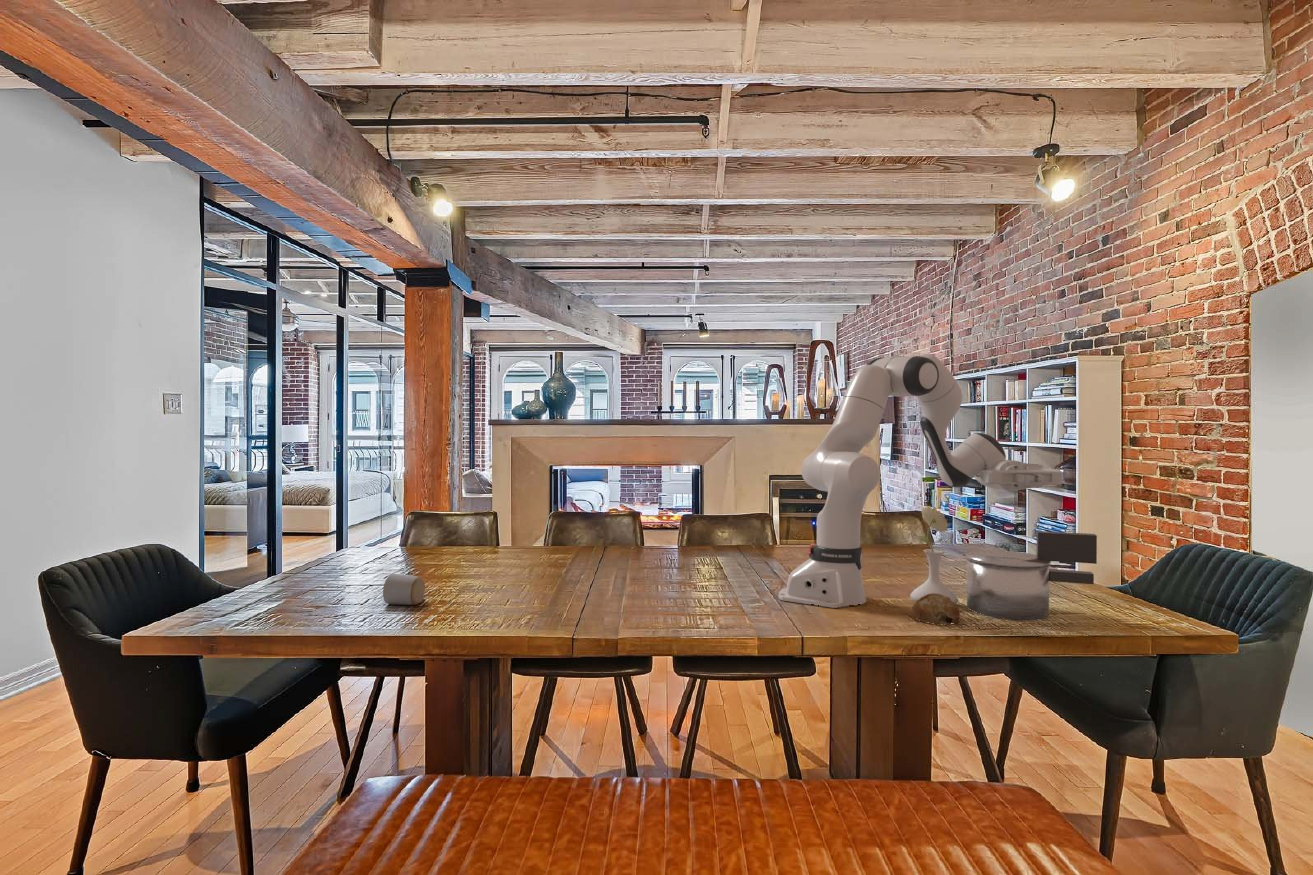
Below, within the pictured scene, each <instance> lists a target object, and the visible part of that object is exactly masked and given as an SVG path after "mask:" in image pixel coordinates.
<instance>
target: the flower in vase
mask: <svg viewBox="0 0 1313 875" xmlns="http://www.w3.org/2000/svg"><path fill="white" fill-rule="evenodd" d="M921 514H922V515H921V517H922V519H923V520H924V522H925V523H927V525H928V528H927V532H926V535H924V534H921V537H920V538H919V541H922V542H923V543H926V544H929V547H930V549H929V548H926V549H923V552H924V554H925V555H926V558H927V562H928V571H929V572H928V578H927V579H926V581H925V582H923V583H922V584H921V585H919V586H917V587H916V588H915V589H913V591H912V592H911V593H910V595H909V596H910V599H911V601H913V602H915V603H916V602H917V600H919V599H920V598H921V597H923V596H925V595H927V594H932V593H935V594H940V595H943V596H945V597H949V598H950V600H951V601H952V602H953V603H955V605H956V604H957V603H959V599H958V596H957V595H956V594H955V593H954V592H953V591H952V590H951V589H949V587H947V586H946V585H945V584H944V583H943V582H942V581H941V579H940V575H939V574H940V573H939V571H940V570H939V569H940V562H941V559H942V557H943V556H944V554H945V552H946V551H944V550H943V549H936V548H933V546H932V545H934V544H936V543H939V542H941V541H942V540H943V537H941V538H940V539H939V540H937V541H934V542H932V543H931V541H930V538H929V533H930V529H932V530H935V531H936V532H940V533H943V532H944V533H945V532H946V531H948V527H949V523H948V522H947V521H948V520H947V519H946V518H945V514H944V513H942V512H941V511H940V510H937V508H936V507H931V506H930V505H927V506H926V507H923V508H921Z"/></svg>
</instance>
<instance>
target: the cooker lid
mask: <svg viewBox="0 0 1313 875" xmlns="http://www.w3.org/2000/svg"><path fill="white" fill-rule="evenodd" d="M1097 538H1098V535H1096V534H1095V533H1083V532H1066V531H1065V532H1064V531H1046V530H1036V554H1034V553H1030V552H1021V551H1012V550H1011V551H1010V550H998V549H995V550H993V549H992V550H991V549H989V550H988V549H985V550H982V549H981V550H972V551H971V550H970V551H967V552H966V553H965V559H966V561H967V560H969V561H972V562H975V563H979V564H985V565H991V566H998V567H1009V568H1043V567H1048V566H1049V567H1050V566H1052V562H1066V563H1077V564H1080V563H1081V564H1091V565H1092V564H1095V565H1097V564H1098V563H1097V558H1098V557H1097V556H1098V555H1097V554H1098V553H1097V552H1098V548H1097V547H1098V546H1097V544H1098V541H1097V540H1098V539H1097Z"/></svg>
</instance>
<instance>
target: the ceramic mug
mask: <svg viewBox="0 0 1313 875" xmlns="http://www.w3.org/2000/svg"><path fill="white" fill-rule="evenodd" d="M425 588H426V585H425V581H424V580H423V579H422V578H421V577H420V576H416V575H408V574H399V573H390V574H389V575H388V576H387V577H386V579H385V580H384V584H383V587H382V596H383V597H382V598H383V601H384V603H385V604H387V605H397V606H400V605H401V606H414V605H415V606H416V605H418V604H420V602H421V601H422V600H423V599H424V596H425V590H426V589H425Z"/></svg>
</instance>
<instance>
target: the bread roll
mask: <svg viewBox="0 0 1313 875" xmlns="http://www.w3.org/2000/svg"><path fill="white" fill-rule="evenodd" d="M911 609H912V611H913V612H912V613H913V618H914V619H916V618H917V619H918V620H920V621H919V622H921V621H923V622H922V623H924V622H929V623H934V624H943V625H944V624H945V625H944V626H948V625H947V624H951V623H956V622H958V623H959V621H960V617H961V614H960V610H959V608H958V606H957V605H956V604H955V603H953V602H952V601H951V600H950V598H949V597H945V596H943V595H940V594H935V593H932V594H927V595H925V596H923V597H921V598H920V599H919V600H917V602H915V603H914V604H913V606H911ZM917 619H916V620H917ZM918 620H917V621H918ZM956 624H957V623H956ZM951 625H952V624H951Z"/></svg>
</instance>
